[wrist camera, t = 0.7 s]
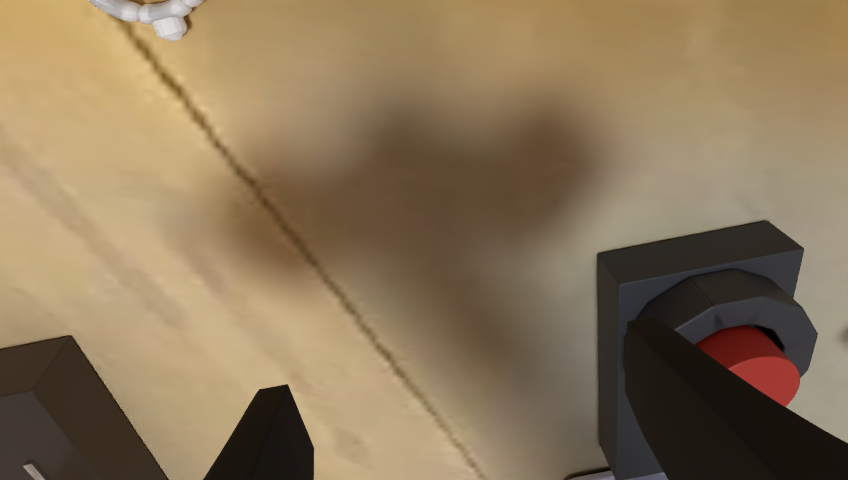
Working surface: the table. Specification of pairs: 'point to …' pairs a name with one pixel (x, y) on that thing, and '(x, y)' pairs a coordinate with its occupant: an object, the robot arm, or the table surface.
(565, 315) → the table surface
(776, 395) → the button
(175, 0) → the key
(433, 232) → the table surface
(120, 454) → the plate
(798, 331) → the button base
